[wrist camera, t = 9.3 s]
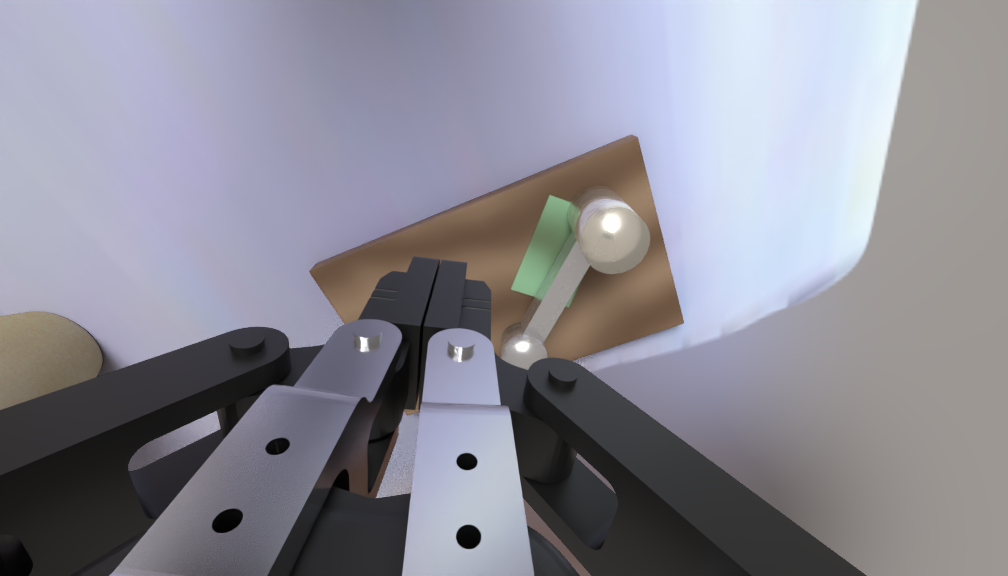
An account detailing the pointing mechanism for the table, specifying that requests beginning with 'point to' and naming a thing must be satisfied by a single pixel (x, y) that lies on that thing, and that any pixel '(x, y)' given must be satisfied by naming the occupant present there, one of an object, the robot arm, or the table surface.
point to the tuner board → (529, 256)
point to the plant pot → (43, 356)
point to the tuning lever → (578, 267)
